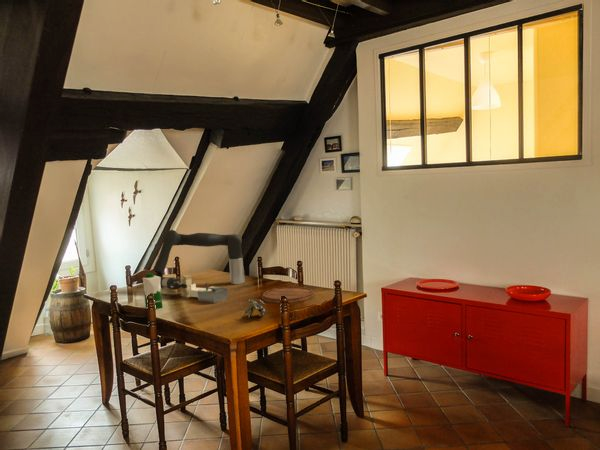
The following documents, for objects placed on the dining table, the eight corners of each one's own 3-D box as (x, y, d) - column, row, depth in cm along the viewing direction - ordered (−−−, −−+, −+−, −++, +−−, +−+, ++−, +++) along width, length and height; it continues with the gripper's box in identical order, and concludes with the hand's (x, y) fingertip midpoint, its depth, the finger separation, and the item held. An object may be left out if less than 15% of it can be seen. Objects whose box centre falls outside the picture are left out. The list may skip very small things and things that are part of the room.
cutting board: (304, 305, 273) (304, 300, 272) (252, 302, 284) (252, 298, 284) (321, 291, 303) (321, 287, 302) (274, 289, 314) (274, 285, 313)
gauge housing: (198, 301, 293) (197, 290, 293) (212, 296, 303) (211, 286, 303) (214, 303, 286) (213, 292, 285) (228, 298, 296) (227, 288, 295)
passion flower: (262, 326, 256) (271, 310, 250) (244, 326, 250) (252, 310, 244) (255, 310, 264) (263, 294, 258) (237, 310, 258) (245, 294, 252)
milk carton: (157, 304, 290) (155, 271, 287) (164, 307, 283) (161, 273, 281) (143, 308, 284) (140, 274, 282) (150, 311, 277) (147, 276, 275)
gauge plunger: (188, 296, 301) (187, 282, 300) (196, 293, 307) (195, 280, 306) (204, 298, 294) (203, 284, 293) (212, 295, 299) (211, 282, 298)
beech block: (182, 296, 306) (180, 276, 305) (187, 294, 310) (186, 274, 309) (187, 297, 304) (185, 276, 302) (192, 295, 308) (191, 275, 306)
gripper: (161, 279, 308) (180, 282, 298) (178, 275, 320) (197, 277, 310) (162, 291, 309) (181, 294, 299) (179, 286, 320) (198, 288, 311)
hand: (189, 285), depth 305 cm, fingers closed on beech block, 4 cm apart
